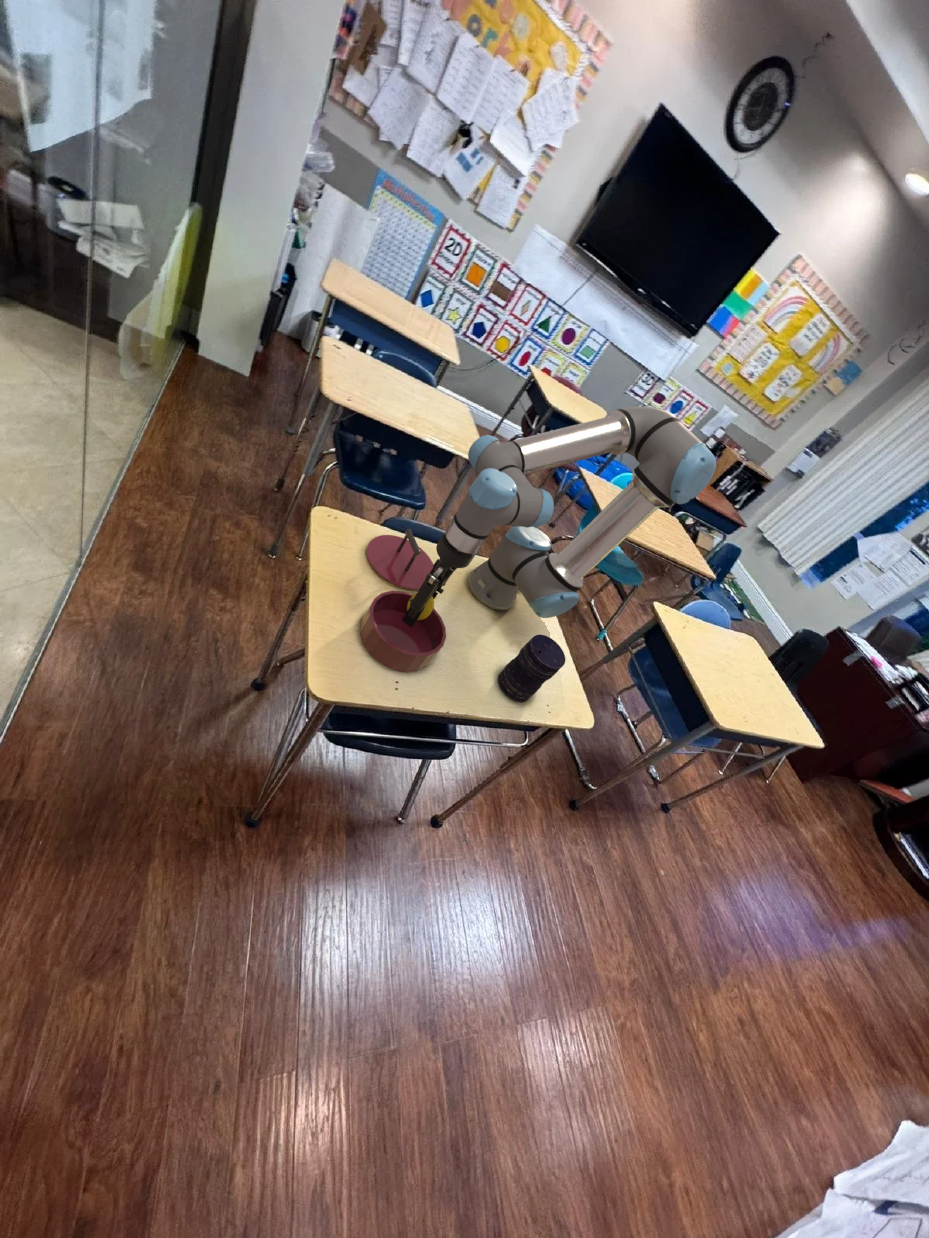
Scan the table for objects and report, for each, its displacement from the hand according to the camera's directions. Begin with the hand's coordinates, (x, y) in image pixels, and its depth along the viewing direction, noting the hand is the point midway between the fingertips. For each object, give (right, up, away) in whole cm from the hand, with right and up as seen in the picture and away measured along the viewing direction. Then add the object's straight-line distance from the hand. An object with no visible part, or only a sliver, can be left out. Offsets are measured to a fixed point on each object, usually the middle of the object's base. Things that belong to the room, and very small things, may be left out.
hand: (414, 615), depth 115 cm
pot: (-4, -5, +5) cm, 9 cm away
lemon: (0, 0, 0) cm, 1 cm away
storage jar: (+24, -18, +14) cm, 33 cm away
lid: (-6, +15, +23) cm, 28 cm away
